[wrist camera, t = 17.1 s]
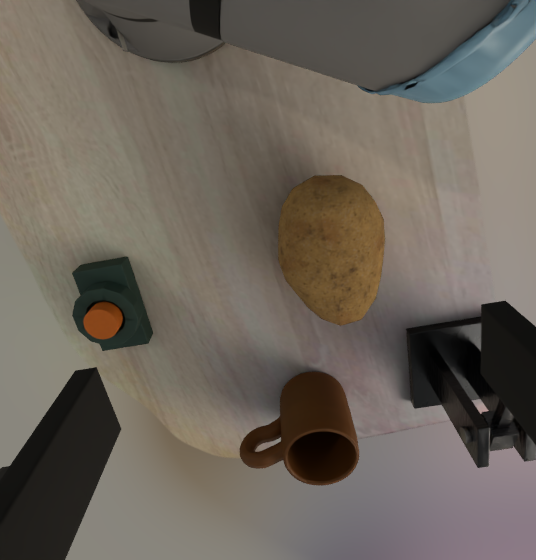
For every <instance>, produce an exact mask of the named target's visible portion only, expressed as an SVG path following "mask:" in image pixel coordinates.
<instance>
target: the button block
mask: <svg viewBox="0 0 536 560" xmlns="http://www.w3.org/2000/svg"><path fill="white" fill-rule="evenodd" d="M72 274H73V277H74V279H75V282H76V284H77V287H78V289H79V292H80V295H81V296H80V297H79V298H78V299H77V300H76V301H75V305H74V310H73V315H72V316H73V318H74V321H75V323H76V326H77V328H78V330H79V331H80V332H81V333H82V334H83V335H84V336H85V337H87V338H88V339H89V340H90V341H92V342H95V343H99V344H100V346H101V348H102V351H105V350H111V349H117V348H123V347H130V346H136V345H142V344H148V343H149V341H150V338H151V336H152V334H153V331H152V328H151V325H150V322H149V319H148V316H147V313H146V310H145V307H144V304H143V301H142V298H141V295H140V292H139V289H138V286H137V283H136V280H135V277H134V274H133V271H132V268H131V265H130V262H129V259H128V257H122V258H117V259H111V260H106V261H100V262H94V263H89V264H83V265H80V266H79V267H78V268H77V269H76V270H75V271H74V272H73V273H72ZM99 302H110V303H113V304H114V305H116V306H117V307H118V308H119V309H120V310H121V312H122V314H123V322H122V324H121V326H120V328H119V329H118V331H117V332H116V334H115V335H114V336H113V337H111V338H108V339H97V338H95V337H93V336H91V335H90V334H89V333H88V332H87V331H86V329H85V327H84V317H85V315H86V314H87V313H88V311H89V310H90V309H91V308H92V307H93V306H94V305H95V304H96V303H99Z"/></svg>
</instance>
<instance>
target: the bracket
mask: <svg viewBox="0 0 536 560" xmlns="http://www.w3.org/2000/svg"><path fill="white" fill-rule="evenodd" d="M406 331H407V346H408V360H409V375H410V390H411V402H412V404H413V407H414V408H422V407H429V406H435V405H442V406H443V408H444V409H445V411H446V413H447V415H448V416H449V418H450V420H451V422H452V423H453V425H454V427H455V428H456V430H457V432H458V434H459V436H460V437H461V439H462V441H463V443H464V444H465V446H466V448H467V450H468V451H469V453H470V455H471V457H472V458H473V460H474V462H475V464H476V465H477V467H478V468H480V467H488V466H489V440H490V427H489V426H488V424H487V423H486V421H485V420H484V419H483V417H482V416H481V414H480V413H479V411H478V410H477V408H476V407H475V405H474V404H473V402H472V401H471V400H476V399H481V401H482V402H483V403H484V405H485V406H486V408H487V409H488V410H489V411H494V410H496V407H497V405H498V402H499V400H500V398H499V397H498V396H497V394H496V393H495V392H494V390H493V389H492V388H491V387H490V385H489V384H488V383H487V381H486V380H485V379H484V378H483V376H482V375H481V317H476V318H470V319H464V320H458V321H451V322H445V323H439V324H433V325H426V326H420V327H414V328H408V329H406ZM513 421H514V423H515V425H516V427H517V429H518V431H519V433H520V435H519V437H518V438H517V440H516V442H515V444H514V447H515V449H516V450H517V451H518V453H519V454H520V456H521V457H522V458H523V459H524V461H531V460H536V445H535V444H534V442H533V441H532V440H531V438H530V437H529V436H528V435H527V433H526V432H525V431H524V429H523V428H522V427H521V425H520V424H519V423H518V422H517V420H516V419H515V418H513Z"/></svg>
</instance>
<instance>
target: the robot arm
mask: <svg viewBox="0 0 536 560" xmlns="http://www.w3.org/2000/svg"><path fill="white" fill-rule="evenodd" d="M76 1H77V2H78V4H79V6H80V7H81V8H82V10H83V11H84V13H85V14H86V15H87V16H88V18H89V19H90V20H91V22H92V23H93V24H94V25H95V26H96V27H97V28H98V29H99V30H100V31H101V32H102V33H103V34H104V35H105V36H106V37H108V38H109V39H110V40H112V41H113V42H114V43H116V44H117V45H119V46H120V47H122V48H123V51H126V52H128V51H129V52H131V53H133V54H136V55H138V56H141V57H144V58H148V59H151V60H155V61H160V62H170V63H175V62H186V61H191V60H195V59H199V58H201V57H204V56H206V55H208V54H210V53H212V52H214V51H216V50H217V49H219V48H220V47H222V46H223V45H224V44H225V43H228V44H231V45H234V46H237V47H240V48H243V49H246V50H249V51H252V52H255V53H259V54H262V55H265V56H268V57H271V58H274V59H277V60H280V61H283V62H286V63H290V64H293V65H296V66H299V67H302V68H305V69H308V70H311V71H314V72H317V73H321V74H324V75H327V76H330V77H333V78H336V79H339V80H342V81H345V82H348V83H352V84H355V85H357V86H358V87H359V88H360V89H362V90H363V91H366V92H368V93H371V94H375V93H377V94H379V95H389V94H391V95H395V96H399V97H403V98H407V99H410V100H414V101H418V102H422V103H442V102H447V101H451V100H454V99H457V98H459V97H462V96H464V95H466V94H468V93H470V92H472V91H474V90H476V89H478V88H479V87H481V86H482V85H484V84H485V83H487V82H488V81H490V80H491V79H493V78H494V77H495V76H496V75H498V74H499V73H500V72H501V71H503V70H504V69H505V68H506V67H507V66H509V65H510V64H511V63H512V62H513V61H514V60H515V59H516V58H517V57H518V56H519V55H520V54H522V52H524V51H525V50H526V49H527V48H528V46H530V44H531V43H532V42H533V41H534V40H535V39H536V0H76ZM481 375H482V376H483V378H484V379H485V380H486V381H487V383H488V384H489V385H490V387H491V388H492V389H493V390H494V392H495V393H496V394H497V396H498V397H499V398H500V400H501V401H502V402H503V403H504V405H505V406H506V407H507V409H508V410H509V411H510V412H511V414H512V415H513V416H514V418H515V419H516V420H517V422H518V423H519V424H520V425H521V427H522V428H523V429H524V431H525V432H526V433H527V435H528V436H529V437H530V438H531V440H532V441H533V442H534V444H535V445H536V327H535V326H534V325H533V324H532V323H531V322H529V321H528V320H527V319H526V318H525V317H524V316H522V315H521V314H520V313H519V312H518V311H517V310H516V309H514V308H513V307H512V306H511V305H510V304H509V303H507V302H506V301H501V302H495V303H488V304H482V305H481ZM120 430H121V427H120V424H119V422H118V419H117V417H116V414H115V412H114V410H113V407H112V405H111V402H110V400H109V397H108V395H107V392H106V390H105V387H104V385H103V382H102V380H101V377H100V375H99V372H98V370H97V367H95V368H89V369H83V370H77V371H75V372H74V374H73V375H72V376H71V378H70V379H69V381H68V382H67V384H66V385H65V387H64V388H63V390H62V391H61V393H60V394H59V396H58V397H57V398H56V400H55V401H54V403H53V404H52V406H51V407H50V408H49V410H48V411H47V413H46V415H45V416H44V417H43V419H42V420H41V422H40V423H39V424H38V426H37V427H36V429H35V430H34V432H33V433H32V435H31V436H30V438H29V439H28V440H27V442H26V443H25V445H24V446H23V448H22V449H21V451H20V452H19V454H18V455H17V456H16V458H15V459H14V461H13V462H12V464H11V465H10V466H8V467H2V468H1V469H0V560H65V558H66V556H67V554H68V551H69V549H70V547H71V544H72V542H73V540H74V537H75V535H76V533H77V531H78V528H79V526H80V524H81V521H82V519H83V517H84V514H85V512H86V510H87V507H88V505H89V502H90V500H91V498H92V496H93V493H94V491H95V489H96V486H97V484H98V482H99V479H100V477H101V475H102V472H103V470H104V468H105V465H106V463H107V461H108V458H109V456H110V454H111V451H112V449H113V447H114V445H115V442H116V440H117V437H118V435H119V433H120Z"/></svg>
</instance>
